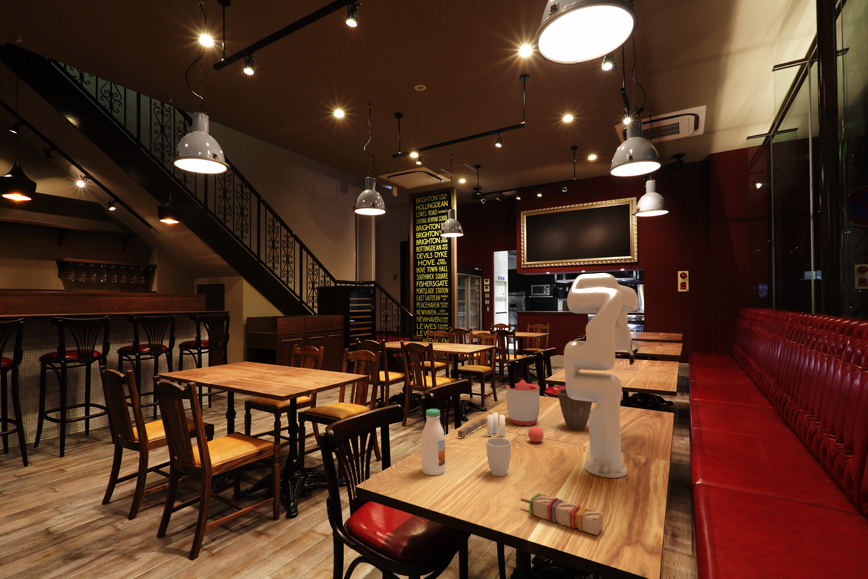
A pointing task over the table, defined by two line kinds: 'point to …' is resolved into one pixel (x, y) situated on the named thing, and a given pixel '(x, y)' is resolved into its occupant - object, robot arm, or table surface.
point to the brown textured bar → (471, 427)
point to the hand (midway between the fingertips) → (619, 363)
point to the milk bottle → (433, 444)
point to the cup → (498, 455)
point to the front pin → (502, 425)
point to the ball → (535, 434)
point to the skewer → (565, 513)
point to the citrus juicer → (523, 403)
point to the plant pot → (574, 411)
